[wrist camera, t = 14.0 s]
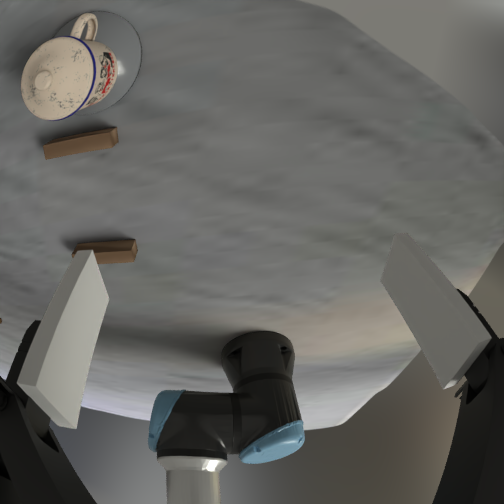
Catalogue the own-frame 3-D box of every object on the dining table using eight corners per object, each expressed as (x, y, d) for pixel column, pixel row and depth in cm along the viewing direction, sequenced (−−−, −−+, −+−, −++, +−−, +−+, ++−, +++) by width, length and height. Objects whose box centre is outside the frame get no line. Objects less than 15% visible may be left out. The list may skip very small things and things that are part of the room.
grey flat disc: (144, 104, 33) (142, 105, 32) (50, 122, 32) (47, 124, 31) (142, 2, 25) (140, 1, 24) (44, 29, 24) (40, 28, 23)
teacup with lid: (109, 114, 32) (70, 135, 22) (50, 102, 29) (-1, 121, 20) (138, 24, 26) (107, 8, 17) (75, 16, 23) (27, 5, 14)
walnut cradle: (137, 250, 45) (133, 262, 42) (81, 254, 44) (75, 265, 41) (116, 127, 34) (109, 132, 32) (52, 139, 33) (42, 145, 31)
